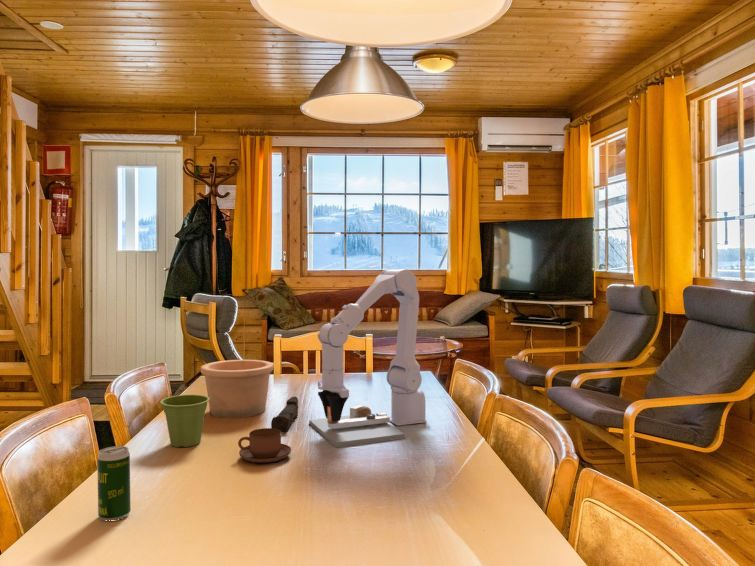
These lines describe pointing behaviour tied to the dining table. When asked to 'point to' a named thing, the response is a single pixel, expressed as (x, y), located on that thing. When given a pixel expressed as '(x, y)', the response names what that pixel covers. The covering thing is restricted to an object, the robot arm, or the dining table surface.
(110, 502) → the beer can
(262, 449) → the cup and saucer
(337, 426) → the lever
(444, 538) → the dining table surface
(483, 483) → the dining table surface
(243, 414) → the pottery
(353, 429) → the flat white platform
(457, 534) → the dining table surface
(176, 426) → the plant pot
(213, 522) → the dining table surface
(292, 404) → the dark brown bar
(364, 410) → the brown sphere
